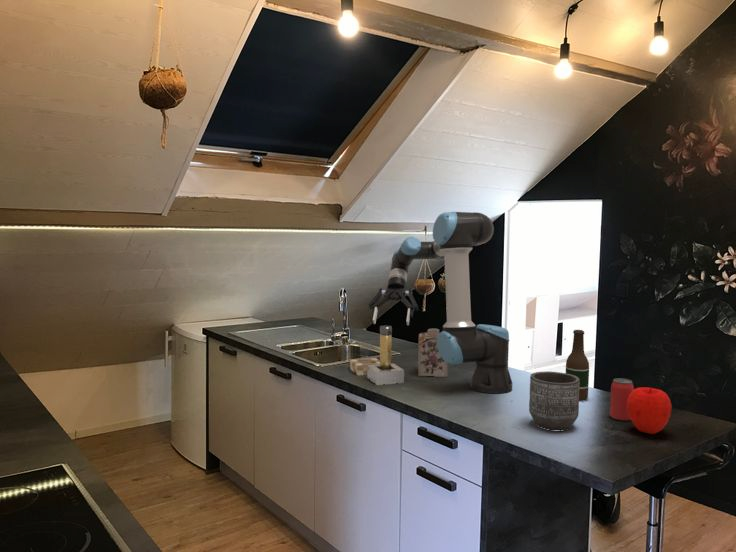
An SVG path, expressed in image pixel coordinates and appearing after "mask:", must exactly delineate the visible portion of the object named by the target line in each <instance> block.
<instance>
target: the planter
mask: <svg viewBox="0 0 736 552" xmlns="http://www.w3.org/2000/svg"><path fill="white" fill-rule="evenodd" d="M529 377H530V378H529V380H530V381H529V400H528V401H529V403H528V411H529V414H530V415H531V418H532V419H533V421H534V423H535V424H537V425H538V426H539V427H538V426H537V425H536V426H537V427H538V428H540V427H542V428H545V429H549V430H548V431H550V430H560V431H559V432H562V431H561V430H566V431H568V430H570V429H569V428H571V427H573V425H574V423H575V422H576V420H577V419H578V417H579V413H580V409H579V408H580V401H579V384H580V379H579V378H578V377H577V376H575V375H571V374H566V372H558V371H536V372H533V373H531V374H530V376H529ZM542 428H541V429H542ZM545 429H544V430H545ZM567 429H568V430H567Z"/></svg>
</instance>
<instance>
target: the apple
mask: <svg viewBox="0 0 736 552" xmlns="http://www.w3.org/2000/svg"><path fill="white" fill-rule="evenodd" d="M626 406H627V411H628V414H629V417H630V419H631V420H630V421H631V422H632V424H633V425H634V427H635V428H636V429H637V431H639V432H641V433H646V434H650V435H655V434H657V433H659V432H661V431H662V430H663V429H664V428H665V426H666V425H667V423H668V422H669V420H670V417H671V413H672V403H671V399H670V397H669V396H668V394H667V393H666V392H665V391H663V390H661V389H658V388H653V387H645V386H644V387H643V386H642V387H636V388H634V390H632V392H631V393H630V394H629V396H628V399H627V404H626Z"/></svg>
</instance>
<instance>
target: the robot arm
mask: <svg viewBox="0 0 736 552" xmlns="http://www.w3.org/2000/svg"><path fill="white" fill-rule="evenodd" d="M494 231H495V226H494V224H493V222H492V220H491V218H490V217H488V215H486V214H484V213H482V212H476V211H475V212H469V211H468V212H467V211H466V212H465V211H464V212H463V211H448V212H447V211H445V212H442V213H440V214H439V215H438V216H437V218H436V220H435V221H434V223H433V228H432V239H433V241H420V239H419V238H417V237H414V236H408V237H406V238H405V239H404V240H403V242H402V243H401V244H400V246H399V249H398V250H396V251H394V253H393V255H392V257H391V265H390V271H389V275H388V281H387V287H386V289H383V288H381V287H380V288H378V292H377V293H376V295H375V296H374V297H373V298H372V299H371V300H370V301H369V303H368V307H369V309H370V310H371V316H372V317H373V318H372V322H373V325H376V322H377V317H378V312H379V311H378V309H379V308H380V307H381V306H383V305H384V304H386V303H387V302H389V301H400V302H402V303H403V304H404V306H406V307H407V312H406V313H407V315H406V326H410V319H412V318H413V317H414V312H415V311H416V312H419V305H418V304H417V302H416V300H415V297H414V295H413V290H412V289H408V290H406V286H407V279H408V272H409V268H410V265H411V264H412V262H413V261H414V260H444V276H445V278H444V279H445V302H446V303H445V304H446V307H445V308H446V309H445V310H446V321H445V323H444V324H443V325H442V331H441V332H439V335H438V338H437V347H438V351H439V354H440V356H441V357H442V359H443V360H444V361H445V362H447V363H448V364H451V365H454V364H456V365H461V364H466V363H468V364H469V363H475V368H474V371H473V374H472V376H471V378H470V389H472V390H473V391H477V392H481V393H484V394H485V393H488V394H504V393H505V394H506V393H510V392H512V390H513V380H512V378H511V374H510V370H509V350H510V349H509V348H510V347H509V342H510V335H509V334H510V333H509V330H508V329H507V328H505V327H502V326H498V325H491V324H485V323H484V324H482V323H481V324H480V323H479V324H477V325H476V324H475V323H474V322H473V321H472V311H471V310H472V309H471V308H472V307H471V306H472V305H471V289H470V288H471V287H470V283H471V282H470V281H471V280H470V261H469V260H470V259H469V258H470V257H469V254H470V252H471V251H472V250H473V246H475V247H477V246H480V245H482V244H486V243H487V242H489V241H490V240H491V239H492V237H493V235H494ZM406 295H407V297H409V300H410V301H411V303H410V301H409V300H408V299H407V298H406ZM382 296H383V297H382Z"/></svg>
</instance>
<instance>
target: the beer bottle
mask: <svg viewBox="0 0 736 552" xmlns="http://www.w3.org/2000/svg"><path fill="white" fill-rule="evenodd" d="M572 334H573V337H572V338H573V341H572V349H571V352H570V353H569V355H568V357H567V359H566V361H565V373H566V374H571V375H575V376H577V377H578V378H579V379H580V384H579V402H584V401H588V398H589V383H590V382H589V380H590V379H589V378H590V363H589V359H588V357H587V356H586V353H585V346H584V345H585V343H584V339H585V338H584V335H585V330H582V329H573V332H572Z"/></svg>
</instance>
